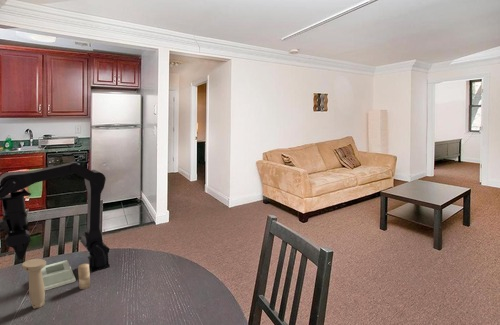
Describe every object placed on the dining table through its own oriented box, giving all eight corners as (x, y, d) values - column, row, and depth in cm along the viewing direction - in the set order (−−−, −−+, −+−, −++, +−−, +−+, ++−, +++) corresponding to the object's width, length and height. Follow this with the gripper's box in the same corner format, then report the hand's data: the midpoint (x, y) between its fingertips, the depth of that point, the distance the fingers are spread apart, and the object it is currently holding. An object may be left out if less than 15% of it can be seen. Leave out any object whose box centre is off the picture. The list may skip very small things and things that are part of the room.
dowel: (89, 282, 106) (87, 262, 104) (91, 286, 103) (89, 266, 102) (78, 285, 104) (77, 265, 102) (80, 290, 101) (79, 269, 100)
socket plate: (70, 268, 114) (69, 258, 114) (75, 281, 106) (74, 270, 106) (36, 278, 107) (35, 266, 107) (39, 292, 99) (37, 280, 98)
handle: (36, 299, 95) (32, 257, 93) (53, 302, 94) (49, 260, 92) (22, 309, 91) (18, 265, 88) (40, 312, 90) (36, 268, 87)
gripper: (-17, 207, 97) (-10, 250, 100) (-21, 224, 83) (-13, 274, 86) (25, 201, 104) (30, 241, 107) (27, 216, 90) (33, 262, 93)
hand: (20, 253), depth 98 cm, fingers open, 9 cm apart
